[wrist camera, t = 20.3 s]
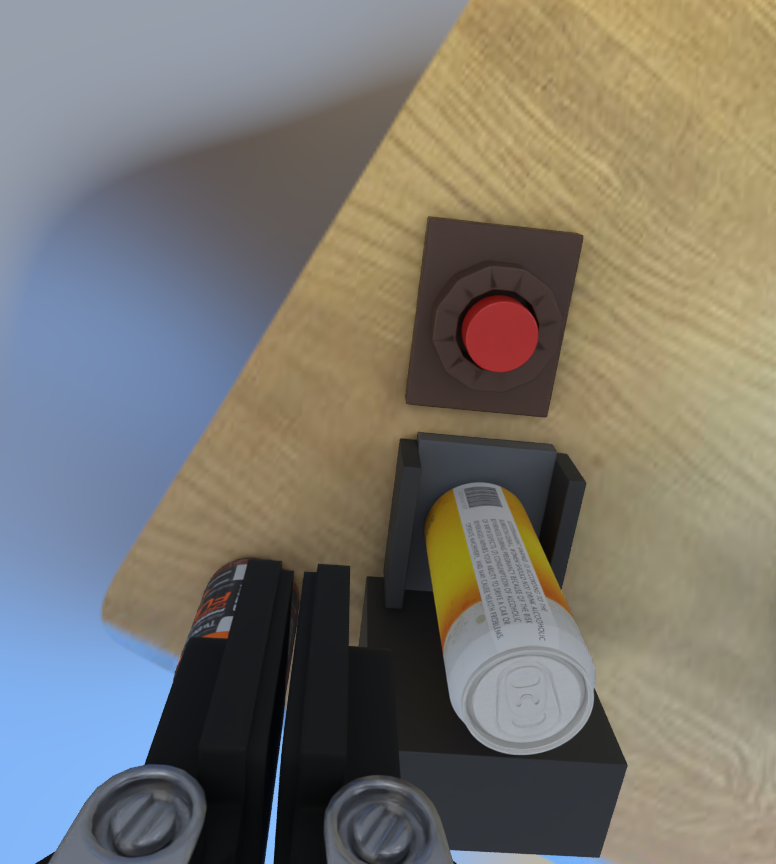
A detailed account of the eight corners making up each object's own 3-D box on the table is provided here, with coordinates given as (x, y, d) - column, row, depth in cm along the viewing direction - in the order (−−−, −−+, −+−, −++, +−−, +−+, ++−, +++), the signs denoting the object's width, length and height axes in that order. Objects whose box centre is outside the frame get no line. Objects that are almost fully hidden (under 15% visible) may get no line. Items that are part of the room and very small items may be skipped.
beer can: (430, 573, 43) (461, 772, 29) (416, 484, 41) (443, 654, 27) (529, 558, 43) (607, 751, 29) (520, 468, 41) (600, 630, 27)
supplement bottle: (229, 538, 43) (186, 662, 33) (316, 576, 45) (302, 707, 34) (191, 611, 45) (138, 750, 35) (276, 646, 47) (250, 791, 36)
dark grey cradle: (357, 653, 47) (355, 845, 34) (383, 428, 41) (392, 556, 28) (535, 665, 48) (599, 858, 35) (585, 447, 42) (685, 579, 29)
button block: (405, 397, 40) (407, 415, 38) (427, 216, 37) (432, 221, 34) (542, 410, 41) (555, 429, 38) (577, 232, 37) (595, 239, 35)
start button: (456, 359, 37) (460, 369, 35) (467, 291, 36) (471, 297, 34) (524, 366, 37) (531, 376, 36) (537, 298, 36) (545, 305, 34)
